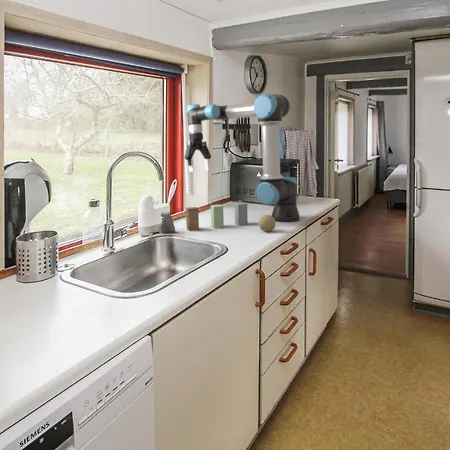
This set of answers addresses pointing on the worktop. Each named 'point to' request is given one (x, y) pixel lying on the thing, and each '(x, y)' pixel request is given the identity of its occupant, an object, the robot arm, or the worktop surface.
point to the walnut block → (192, 218)
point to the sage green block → (217, 216)
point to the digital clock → (166, 223)
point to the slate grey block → (241, 214)
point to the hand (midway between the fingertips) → (199, 171)
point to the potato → (267, 223)
